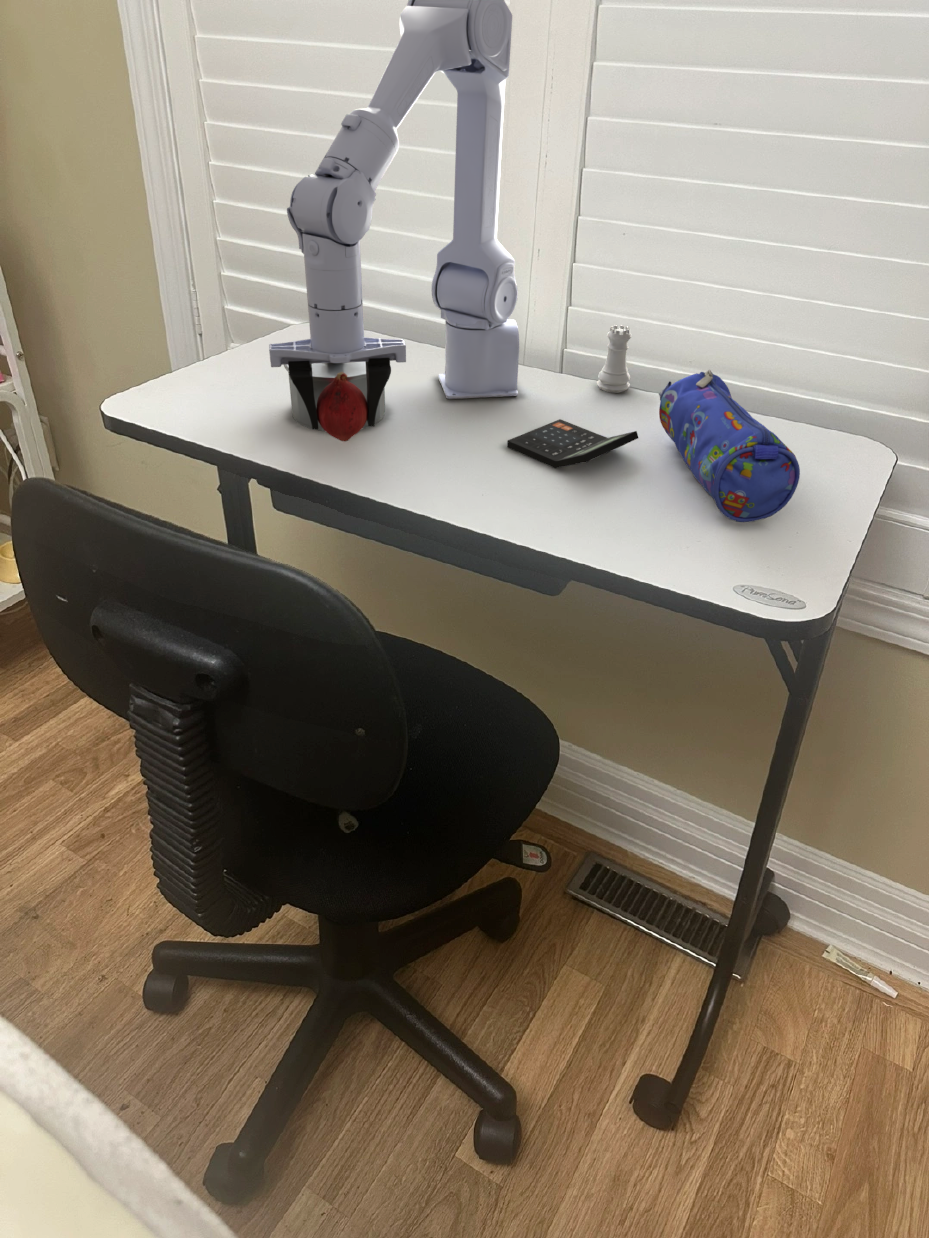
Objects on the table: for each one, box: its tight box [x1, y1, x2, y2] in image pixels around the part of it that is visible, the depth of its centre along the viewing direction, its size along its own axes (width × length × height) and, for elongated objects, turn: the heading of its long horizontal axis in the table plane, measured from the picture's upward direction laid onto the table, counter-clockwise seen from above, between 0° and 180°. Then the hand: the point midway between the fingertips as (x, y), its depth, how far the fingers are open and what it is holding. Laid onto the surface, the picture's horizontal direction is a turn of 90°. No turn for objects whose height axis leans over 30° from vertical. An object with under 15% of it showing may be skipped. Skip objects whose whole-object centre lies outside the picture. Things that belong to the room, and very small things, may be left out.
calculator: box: [506, 418, 639, 469], centre depth 104 cm, size 9×12×3 cm
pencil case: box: [658, 369, 801, 523], centre depth 97 cm, size 22×9×10 cm, turn 6°
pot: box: [287, 371, 386, 432], centre depth 110 cm, size 11×11×6 cm
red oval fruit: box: [316, 372, 368, 442], centre depth 101 cm, size 6×6×8 cm
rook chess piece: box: [596, 324, 633, 394], centre depth 119 cm, size 4×4×8 cm
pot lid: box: [283, 362, 366, 382], centre depth 108 cm, size 12×12×4 cm
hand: (342, 424), depth 102 cm, fingers closed on red oval fruit, 6 cm apart
